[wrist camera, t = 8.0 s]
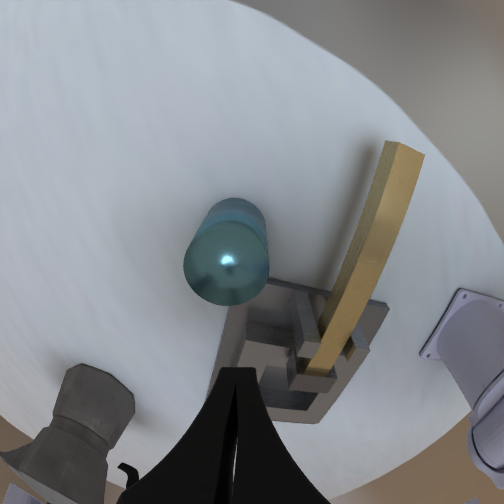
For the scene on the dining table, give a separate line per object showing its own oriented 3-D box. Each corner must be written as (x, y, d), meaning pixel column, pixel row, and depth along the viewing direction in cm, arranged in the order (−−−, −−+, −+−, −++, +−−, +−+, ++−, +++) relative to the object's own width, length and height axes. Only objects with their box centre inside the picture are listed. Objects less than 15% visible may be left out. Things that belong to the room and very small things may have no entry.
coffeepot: (50, 377, 27) (-7, 483, 10) (59, 338, 24) (-23, 470, 7) (153, 436, 30) (125, 551, 14) (183, 411, 27) (154, 559, 11)
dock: (386, 303, 21) (417, 354, 15) (314, 418, 27) (320, 464, 22) (239, 271, 20) (232, 327, 14) (205, 403, 26) (197, 453, 21)
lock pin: (414, 154, 13) (437, 160, 11) (322, 369, 19) (327, 393, 17) (372, 136, 13) (392, 137, 11) (286, 364, 19) (288, 389, 17)
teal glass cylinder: (272, 206, 18) (279, 240, 13) (256, 261, 20) (256, 313, 14) (211, 191, 18) (190, 219, 12) (199, 248, 19) (178, 295, 14)
